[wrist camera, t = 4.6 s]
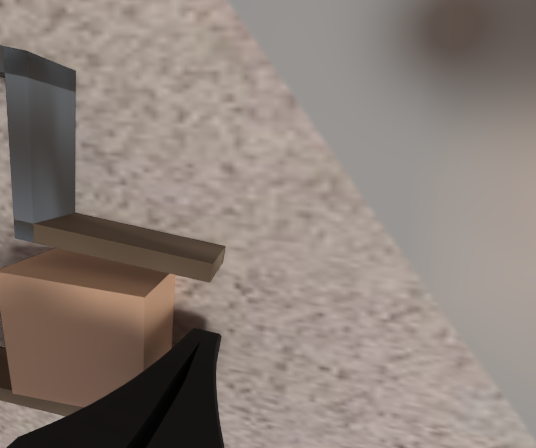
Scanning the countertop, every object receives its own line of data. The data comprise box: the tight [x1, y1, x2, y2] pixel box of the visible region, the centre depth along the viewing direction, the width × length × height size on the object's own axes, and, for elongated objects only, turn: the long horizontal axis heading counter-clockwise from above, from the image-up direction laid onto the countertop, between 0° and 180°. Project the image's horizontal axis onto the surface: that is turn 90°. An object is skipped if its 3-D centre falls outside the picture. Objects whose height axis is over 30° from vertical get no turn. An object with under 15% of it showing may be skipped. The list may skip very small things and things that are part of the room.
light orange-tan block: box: [0, 248, 175, 407], centre depth 12 cm, size 6×6×3 cm
